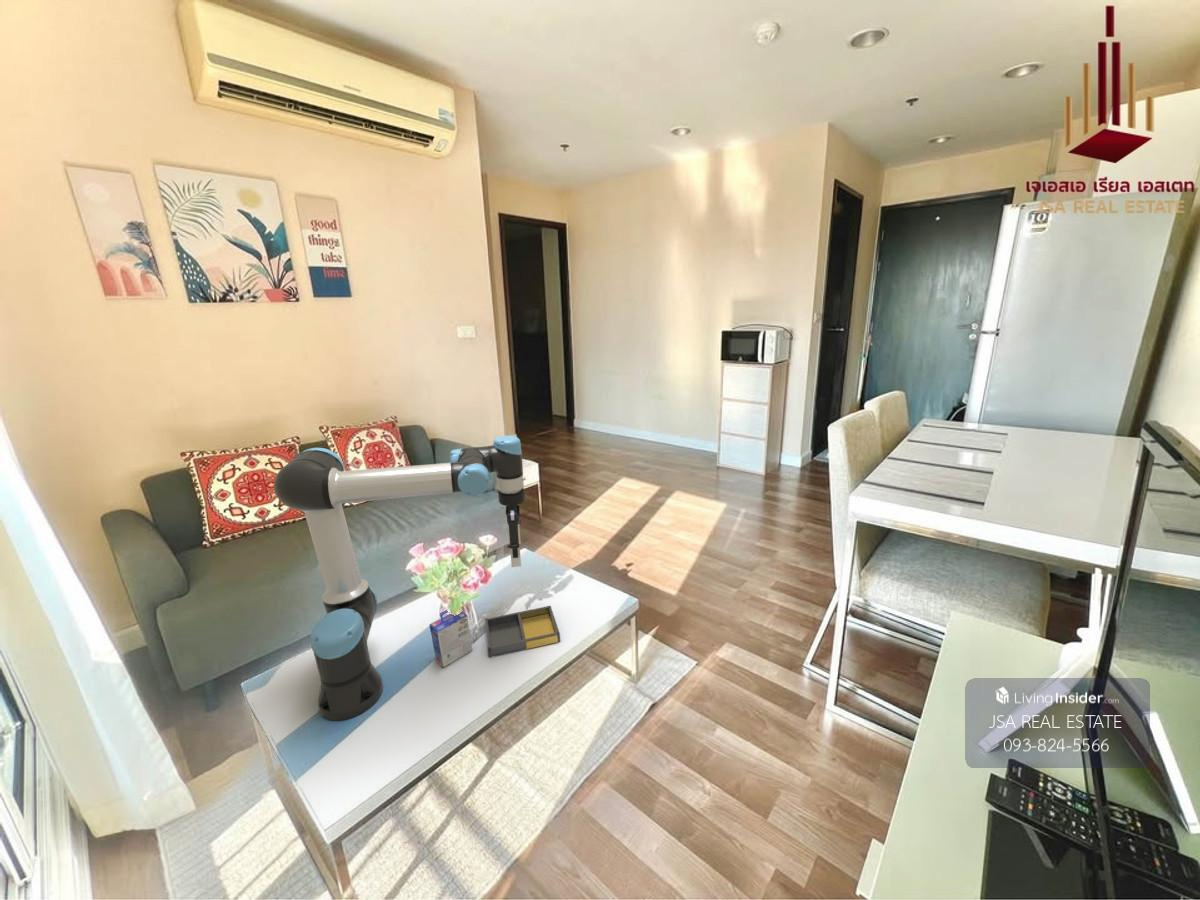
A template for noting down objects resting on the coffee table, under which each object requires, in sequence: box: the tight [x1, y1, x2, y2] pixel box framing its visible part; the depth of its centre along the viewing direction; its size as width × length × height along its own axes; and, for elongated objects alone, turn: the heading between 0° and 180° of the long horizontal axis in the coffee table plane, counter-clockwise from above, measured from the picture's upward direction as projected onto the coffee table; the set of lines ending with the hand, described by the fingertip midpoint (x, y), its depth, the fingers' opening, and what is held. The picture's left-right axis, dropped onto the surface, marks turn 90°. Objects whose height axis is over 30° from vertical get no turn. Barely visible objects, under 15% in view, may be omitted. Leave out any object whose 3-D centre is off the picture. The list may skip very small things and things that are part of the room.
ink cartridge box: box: [429, 609, 473, 668], centre depth 135 cm, size 10×6×14 cm, turn 136°
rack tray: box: [484, 605, 561, 658], centre depth 145 cm, size 21×15×3 cm
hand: (516, 554), depth 140 cm, fingers open, 13 cm apart
